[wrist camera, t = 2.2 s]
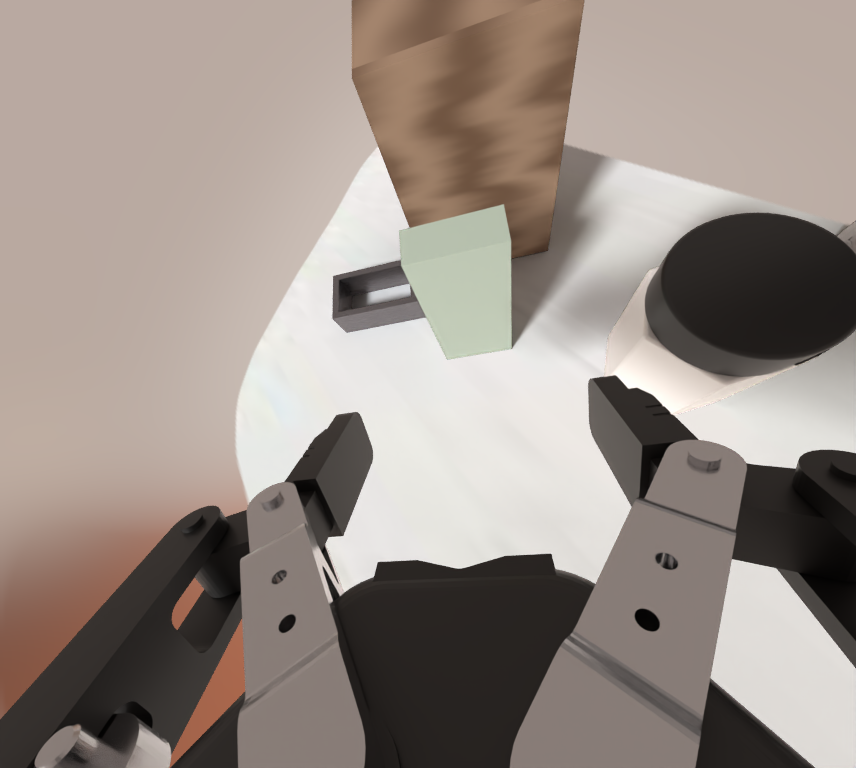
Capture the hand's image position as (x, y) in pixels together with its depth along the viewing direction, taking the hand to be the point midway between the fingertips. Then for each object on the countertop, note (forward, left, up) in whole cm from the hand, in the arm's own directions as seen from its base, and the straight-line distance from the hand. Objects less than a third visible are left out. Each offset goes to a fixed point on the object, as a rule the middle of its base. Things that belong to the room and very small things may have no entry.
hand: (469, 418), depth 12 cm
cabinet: (-2, -23, -17) cm, 29 cm away
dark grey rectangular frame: (+9, -17, -17) cm, 26 cm away
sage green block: (0, -11, -17) cm, 20 cm away
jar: (-14, -6, -17) cm, 23 cm away
